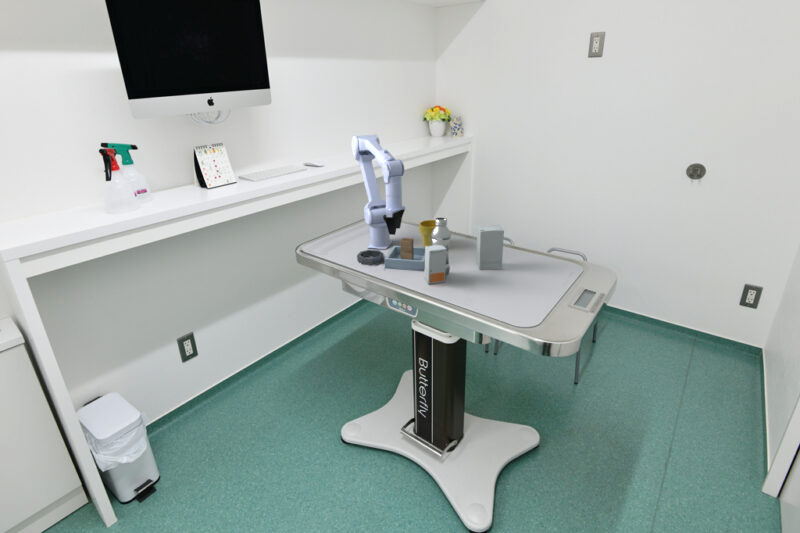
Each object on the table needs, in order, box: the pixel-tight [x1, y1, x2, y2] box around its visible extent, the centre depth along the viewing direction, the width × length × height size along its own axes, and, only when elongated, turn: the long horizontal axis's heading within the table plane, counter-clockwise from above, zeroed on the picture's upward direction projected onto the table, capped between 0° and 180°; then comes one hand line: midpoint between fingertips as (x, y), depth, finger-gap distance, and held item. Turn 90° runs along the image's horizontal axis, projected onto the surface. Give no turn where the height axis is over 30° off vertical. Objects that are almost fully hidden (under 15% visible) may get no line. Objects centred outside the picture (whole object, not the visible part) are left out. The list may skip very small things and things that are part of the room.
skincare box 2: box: [476, 224, 505, 271], centre depth 158 cm, size 8×6×15 cm
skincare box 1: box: [423, 245, 447, 285], centre depth 148 cm, size 6×4×12 cm
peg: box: [399, 237, 415, 260], centre depth 164 cm, size 4×4×8 cm
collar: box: [356, 249, 385, 266], centre depth 167 cm, size 9×9×2 cm
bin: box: [384, 245, 425, 272], centre depth 165 cm, size 14×14×4 cm
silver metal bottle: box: [431, 217, 452, 277], centre depth 150 cm, size 6×7×20 cm
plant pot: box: [418, 219, 436, 248], centre depth 179 cm, size 10×10×10 cm
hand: (394, 231), depth 166 cm, fingers open, 7 cm apart
